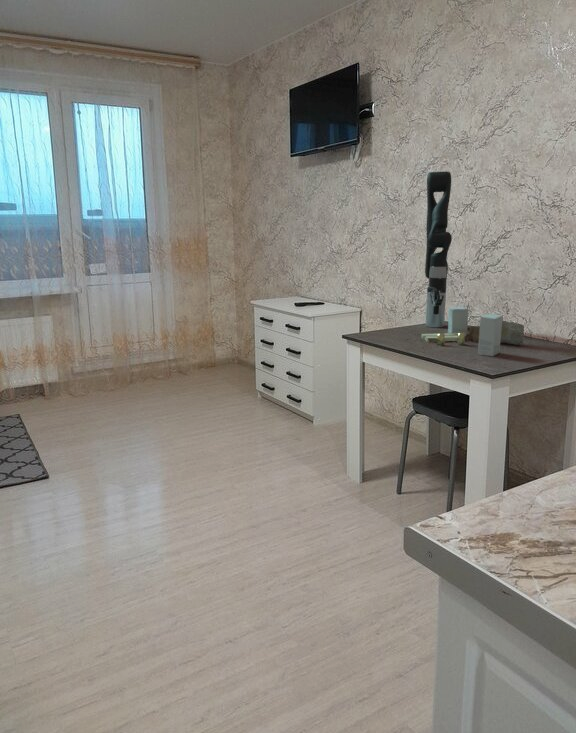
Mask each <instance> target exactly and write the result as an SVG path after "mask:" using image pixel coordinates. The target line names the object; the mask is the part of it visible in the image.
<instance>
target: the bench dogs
mask: <svg viewBox="0 0 576 733" xmlns="http://www.w3.org/2000/svg"><path fill="white" fill-rule="evenodd" d="M437 333H438V335H437V342H436V345H437V346H438V345H444V346H445V342H444V339H445V334H444V333H445V332H437ZM465 338H466V336H465V333H458V341H457V344H458V345H457V346H465V342H466V341H465V340H466V339H465Z"/></svg>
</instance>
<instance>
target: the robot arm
mask: <svg viewBox="0 0 576 733" xmlns="http://www.w3.org/2000/svg"><path fill="white" fill-rule="evenodd" d="M451 190H452V175H451V172H450V171H446V170H445V171H431V172H428V174H427V176H426V198H427V200H426V202H427V205H426V206H427V211H426V213H427V214H426V254H425V265H424V267H425V268H424V274H425V278H427V279H428V286H427V288H426V310H425V311H426V314H425V327H429V328H443V327H445V320H446V319H445V318H446V317H445V316H446V298H447V281H448V280H447V279H448V270H449V264H448V261H447V260H448V258H447V257H448V253H449V250H450V247H451V243H452V242H453V241H452V239H453V238H452V237H453V236H452V234H451V233H450V232H449V231H447V228H448V227H449V226H448V225H449V224H448V223H449V222H448V220H449V219H448V218H449V216H448V215H449V206H450V205H449V204H450V199H451V198H450V197H451ZM435 193H443V194H442V196H441V197H440V199H439V201H438V203H437V200H436V198H435ZM437 249H442V250H441V251H439V252H436V250H437Z"/></svg>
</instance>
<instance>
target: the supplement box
mask: <svg viewBox="0 0 576 733" xmlns="http://www.w3.org/2000/svg"><path fill="white" fill-rule="evenodd" d="M468 320H469V308H467V307H464V306H463V307H462V306H459V307H458V306H457V307H455V306H451V307H450V306H449V308H448V324H447V333H457V334H458V333H465V337H467V336H468V323H469V321H468Z"/></svg>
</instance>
